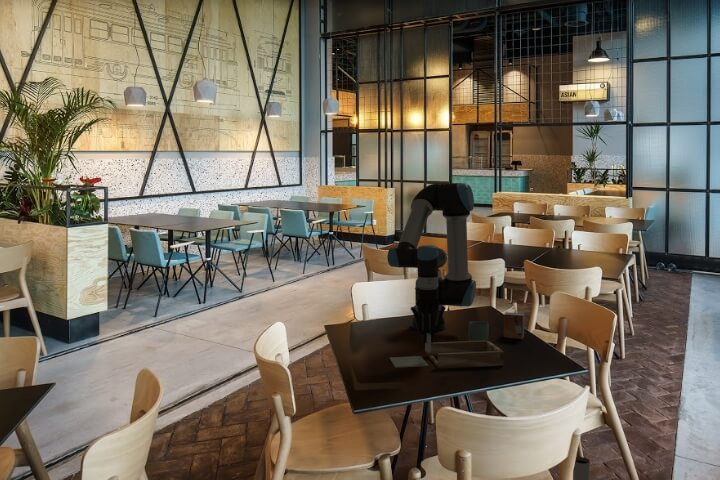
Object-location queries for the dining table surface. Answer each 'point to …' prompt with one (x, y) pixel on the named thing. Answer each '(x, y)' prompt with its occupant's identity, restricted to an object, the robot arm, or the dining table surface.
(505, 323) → the small box
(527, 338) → the dining table surface
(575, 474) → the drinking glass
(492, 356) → the wooden tray
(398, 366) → the sage tile
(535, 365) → the dining table surface
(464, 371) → the dining table surface
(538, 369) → the dining table surface
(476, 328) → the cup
